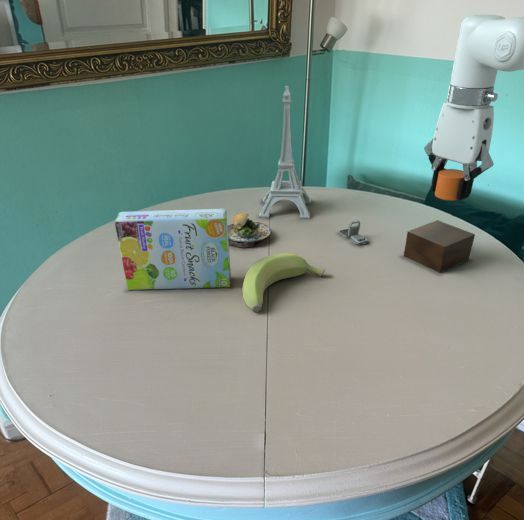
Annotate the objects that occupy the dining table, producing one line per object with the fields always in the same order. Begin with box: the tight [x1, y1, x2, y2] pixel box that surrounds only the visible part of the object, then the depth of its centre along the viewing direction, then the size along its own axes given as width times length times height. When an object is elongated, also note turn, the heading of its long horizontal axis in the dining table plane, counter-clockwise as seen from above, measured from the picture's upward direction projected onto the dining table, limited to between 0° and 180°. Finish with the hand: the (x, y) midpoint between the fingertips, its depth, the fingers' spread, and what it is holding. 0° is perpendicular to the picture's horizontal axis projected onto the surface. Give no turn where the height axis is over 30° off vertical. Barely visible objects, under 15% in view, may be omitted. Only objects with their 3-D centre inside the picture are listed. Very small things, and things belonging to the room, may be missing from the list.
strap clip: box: [339, 220, 369, 246], centre depth 123 cm, size 8×3×4 cm, turn 26°
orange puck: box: [434, 168, 464, 202], centre depth 104 cm, size 6×6×4 cm
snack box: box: [114, 208, 232, 291], centre depth 104 cm, size 21×6×15 cm, turn 91°
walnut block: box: [403, 219, 476, 273], centre depth 114 cm, size 10×10×6 cm
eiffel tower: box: [258, 85, 312, 220], centre depth 132 cm, size 13×13×30 cm
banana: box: [242, 252, 326, 313], centre depth 105 cm, size 14×6×20 cm
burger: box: [227, 212, 272, 249], centre depth 124 cm, size 12×12×8 cm
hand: (449, 193), depth 105 cm, fingers closed on orange puck, 5 cm apart
